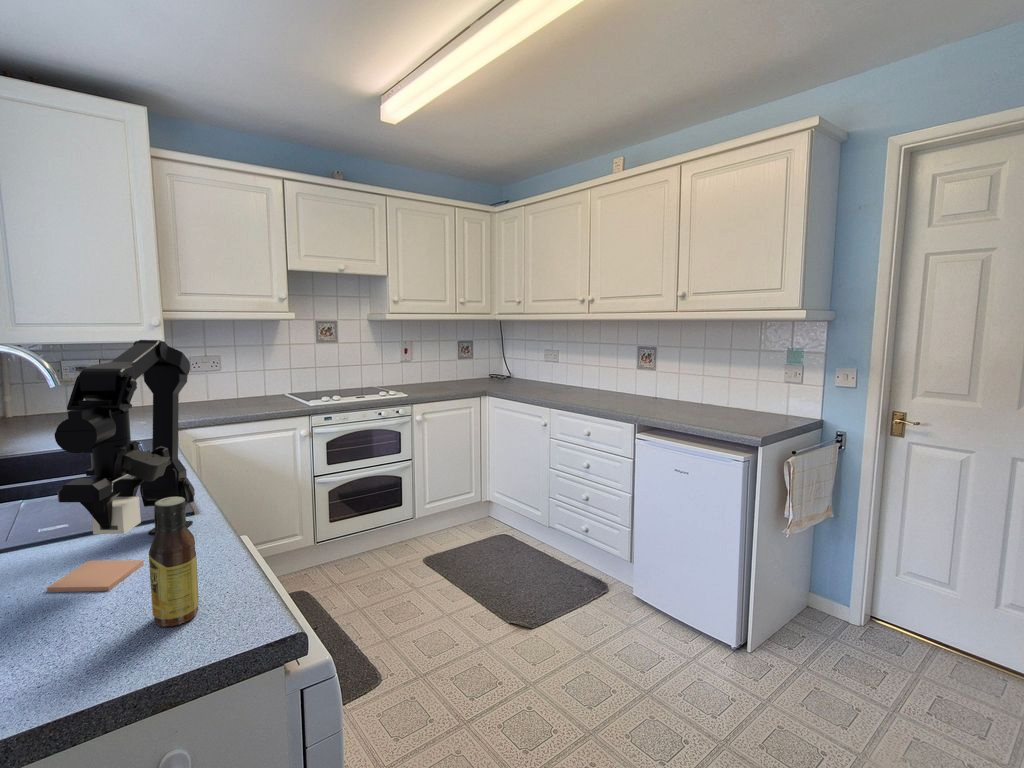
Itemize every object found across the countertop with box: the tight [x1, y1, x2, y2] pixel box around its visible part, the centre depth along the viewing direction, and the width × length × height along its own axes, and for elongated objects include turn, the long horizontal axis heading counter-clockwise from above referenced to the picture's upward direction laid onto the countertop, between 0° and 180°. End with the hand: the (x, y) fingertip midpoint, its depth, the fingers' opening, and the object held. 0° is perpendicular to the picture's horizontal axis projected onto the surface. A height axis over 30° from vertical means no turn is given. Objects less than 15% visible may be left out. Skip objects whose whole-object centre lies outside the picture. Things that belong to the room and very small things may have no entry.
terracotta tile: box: [46, 559, 144, 593], centre depth 96 cm, size 10×10×1 cm
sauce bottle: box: [148, 497, 199, 628], centre depth 82 cm, size 6×6×20 cm
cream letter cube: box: [91, 496, 142, 535], centre depth 94 cm, size 5×5×5 cm
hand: (116, 522), depth 94 cm, fingers closed on cream letter cube, 5 cm apart
